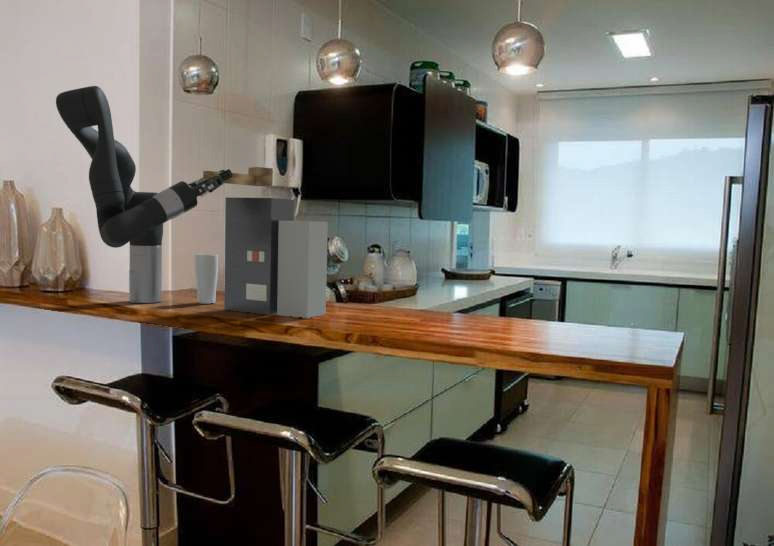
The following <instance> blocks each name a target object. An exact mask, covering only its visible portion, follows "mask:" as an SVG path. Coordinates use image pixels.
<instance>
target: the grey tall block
mask: <svg viewBox="0 0 774 546" xmlns="http://www.w3.org/2000/svg"><path fill="white" fill-rule="evenodd" d="M328 225H329V223H328V221H314V220H313V221H312V220H310V221H309V220H307V221H306V220H294V221H281V220H279V231H278V291H277V314H276V316H282V317H283V316H284V317H290V316H292V317H291V318H299V317H302V319H312V318H315V317H316V316H317V317H321V316H325V315H326V314H327V307H326V306H327V276H328V273H327V271H328V269H327V268H328V235H329V234H328V233H329V232H328V231H329V230H328V228H329V227H328ZM311 317H312V318H311Z"/></svg>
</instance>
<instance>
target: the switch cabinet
mask: <svg viewBox="0 0 774 546" xmlns="http://www.w3.org/2000/svg"><path fill="white" fill-rule="evenodd" d="M224 211H225V214H224V215H225V217H224V219H225V222H224V223H225V227H224V244H225V245H224V248H225V249H224V308H223V310H224V311H228V310H231V311H232V312H237V311H239V313H246V312H250V313H249V314H255V313H257V314H258V315H265V316H271V315H277V291H278V231H279V220H281V221H295V220H294V219H295V218H294V217H295V199H290V198H275V197H225V210H224Z"/></svg>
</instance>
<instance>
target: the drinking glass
mask: <svg viewBox="0 0 774 546" xmlns="http://www.w3.org/2000/svg"><path fill="white" fill-rule="evenodd" d="M194 260H195V261H194V264H195V265H194V267H195V281H196V292H197V293H196V294H197V299H196V301H197V303H198V304H200V305H212V304H211V303H213V304H215V303H216V299H217V298H216V296H217V295H216V293H217V284H218V283H217V282H218V274H219V273H218V272H219V254H216V253H196V254H195V259H194Z"/></svg>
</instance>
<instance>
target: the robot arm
mask: <svg viewBox="0 0 774 546" xmlns="http://www.w3.org/2000/svg"><path fill="white" fill-rule="evenodd" d="M55 105H56V109H57V112H58V114H59V117H60V118H61V119H62V121H63V123H64V124H65V125H66V127H67V128H68V129H69V132H71V133H72V134H73V136H74V137H75V138H76V139H77V141H78V142H79V143H80V144H81V146H83V148H84V149H85V151H86V152H87V154H88V155H89V157H90V159H91V162H90V166H89V170H88V181H89V182H88V183H89V185H90V190H91V194H92V198H93V201H94V204H95V210H96V220H97V227H98V232H99V235H100V238H101V241H102V242H103V243H104V244H105V245H107V246H108V247H110V248H121V247H123V246H125V245H127V244H128V243H129V270H128V302H129V303H131V304H132V303H133V304H134V303H137V304H152V303H160V302H162V297H163V293H162V291H163V283H162V282H163V275H162V274H163V271H162V269H163V264H162V263H163V261H162V260H163V259H162V258H163V246H162V245H163V237H164V223H166V222H169V221H171V220H174V219H176V218H178V217H179V216H181V215H183V214H185V213H186V212H188V211H190V210H192V209H194V208H196V207H197V206H198V197H201V198H202V197H204V196H206V195H207V194H208V193H213V192H214V191H215V190H217V189H219V188H220V187H221V186H222V185H224V184H225V183H223V181H225V180H227V179H229V178H231V177H232V176H233V174H232V173H233V172H232V170H231V169H229V168H228V169H221V170H219V171H218V172H222V173H220V174H218V175H215V176H213V177H212V178H211V177H207V178H205V179H203V177H200V178H199V179H197V180H195V181H192V182H189V183H187V182H186V181H182V180H181V181H179V182H177V183H175V184H173V185H170V186H169V187H167V188H166V189H163V190H161V191H159V192H152V191H151V192H149V191H148V192H147V191H136V190H134V189H133V188H132V186H131V185H132V183H133V182H134V178H135V175H136V171H137V169H136V168H137V166H136V163H135V160H134V159H133V157H132V156H131V154H130V152H129V151H128V149H127V147H125V145H123V144H122V143H121V142H120V141H118V140H117V139H115V136H114V126H113V119H112V112H111V107H110V105H109V100H108V98H107V96H106V93H105V92H104V91H103V89H102V88H100V87H99V86H97V85H90V86H86V87H81V88H80V87H79V88H75V89H71V90H66V91H63V92H60V93H58V94H57V96H56V97H55ZM94 126H97V130H96V129H95V128H94ZM207 180H208V181H209V182H208V181H207Z"/></svg>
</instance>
